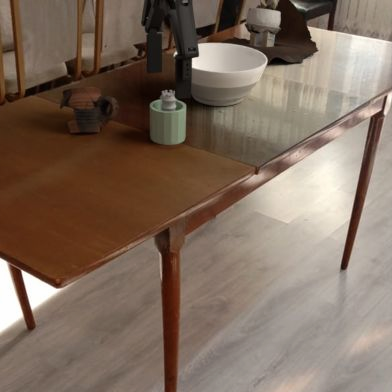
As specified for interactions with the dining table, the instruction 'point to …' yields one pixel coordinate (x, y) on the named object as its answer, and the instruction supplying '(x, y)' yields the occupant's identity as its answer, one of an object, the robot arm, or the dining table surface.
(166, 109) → the rook chess piece
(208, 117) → the dining table surface
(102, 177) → the dining table surface
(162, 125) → the green cylindrical cup
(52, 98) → the dining table surface
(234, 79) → the bowl
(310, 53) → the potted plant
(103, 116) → the pottery mug
